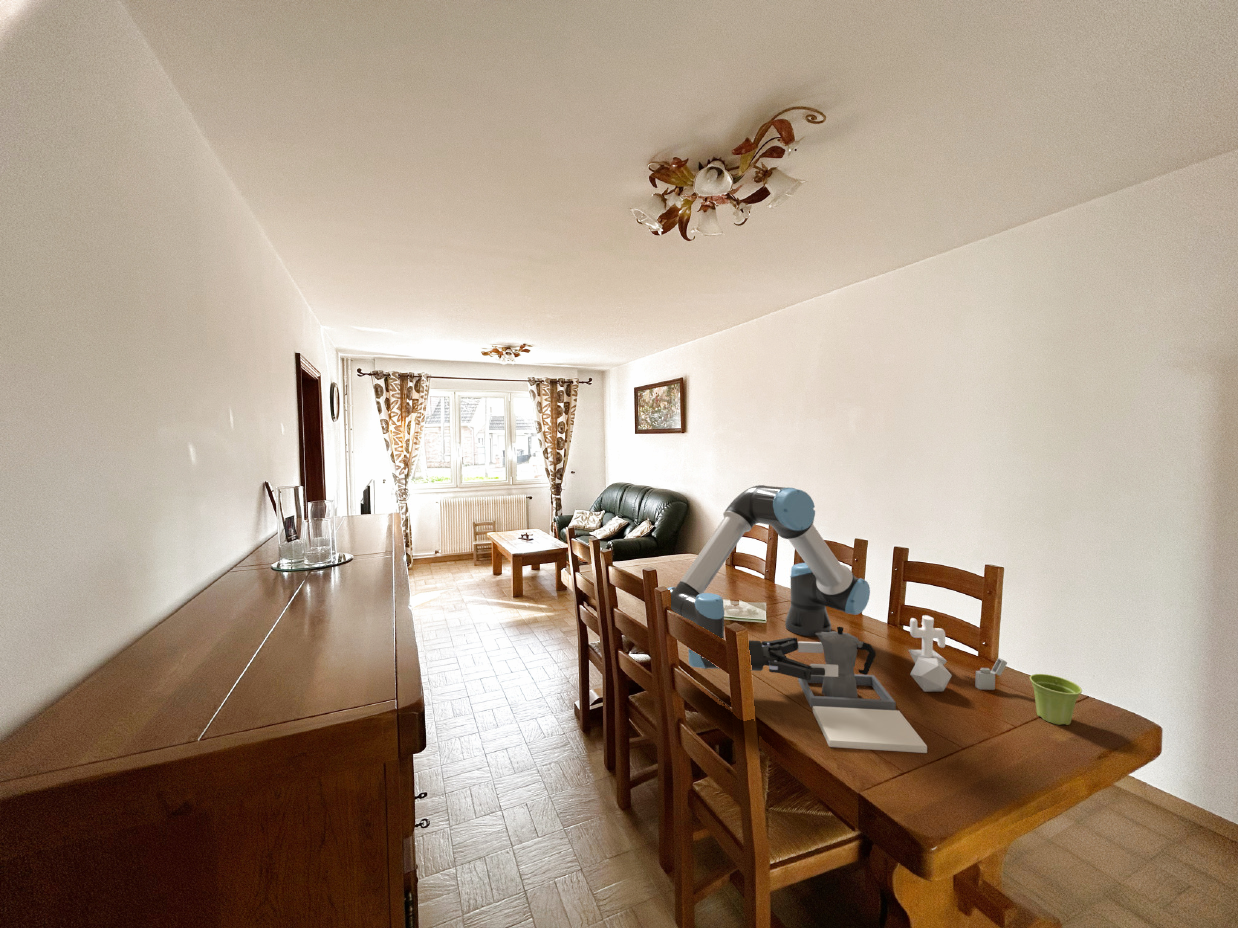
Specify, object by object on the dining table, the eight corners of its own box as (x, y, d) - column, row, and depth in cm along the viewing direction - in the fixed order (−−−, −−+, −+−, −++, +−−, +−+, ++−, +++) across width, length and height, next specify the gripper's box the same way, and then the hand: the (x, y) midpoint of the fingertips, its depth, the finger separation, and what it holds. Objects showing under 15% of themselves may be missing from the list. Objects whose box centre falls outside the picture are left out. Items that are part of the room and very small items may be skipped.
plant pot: (1081, 717, 119) (1082, 682, 119) (1079, 735, 112) (1081, 697, 112) (1030, 703, 126) (1032, 669, 125) (1026, 718, 119) (1027, 683, 119)
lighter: (979, 689, 133) (979, 659, 133) (974, 686, 135) (975, 657, 134) (1006, 689, 133) (1007, 660, 132) (1002, 686, 134) (1003, 657, 134)
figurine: (950, 673, 142) (952, 621, 141) (916, 672, 143) (917, 621, 142) (936, 661, 149) (937, 612, 148) (904, 661, 150) (904, 612, 149)
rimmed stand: (797, 680, 139) (798, 671, 139) (873, 683, 137) (873, 675, 136) (810, 707, 125) (810, 697, 125) (895, 711, 123) (895, 702, 123)
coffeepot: (807, 691, 133) (807, 625, 132) (822, 679, 140) (823, 615, 139) (867, 713, 122) (868, 641, 121) (881, 699, 128) (882, 631, 127)
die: (949, 702, 128) (962, 668, 130) (918, 684, 129) (930, 650, 132) (930, 698, 136) (942, 665, 138) (900, 680, 137) (913, 648, 139)
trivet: (812, 711, 123) (812, 705, 123) (898, 716, 121) (898, 710, 121) (829, 746, 109) (829, 740, 109) (926, 752, 107) (927, 746, 107)
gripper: (741, 648, 146) (817, 652, 143) (752, 692, 121) (844, 697, 118) (741, 623, 145) (817, 626, 143) (752, 662, 121) (845, 666, 118)
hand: (830, 658), depth 130 cm, fingers open, 13 cm apart
